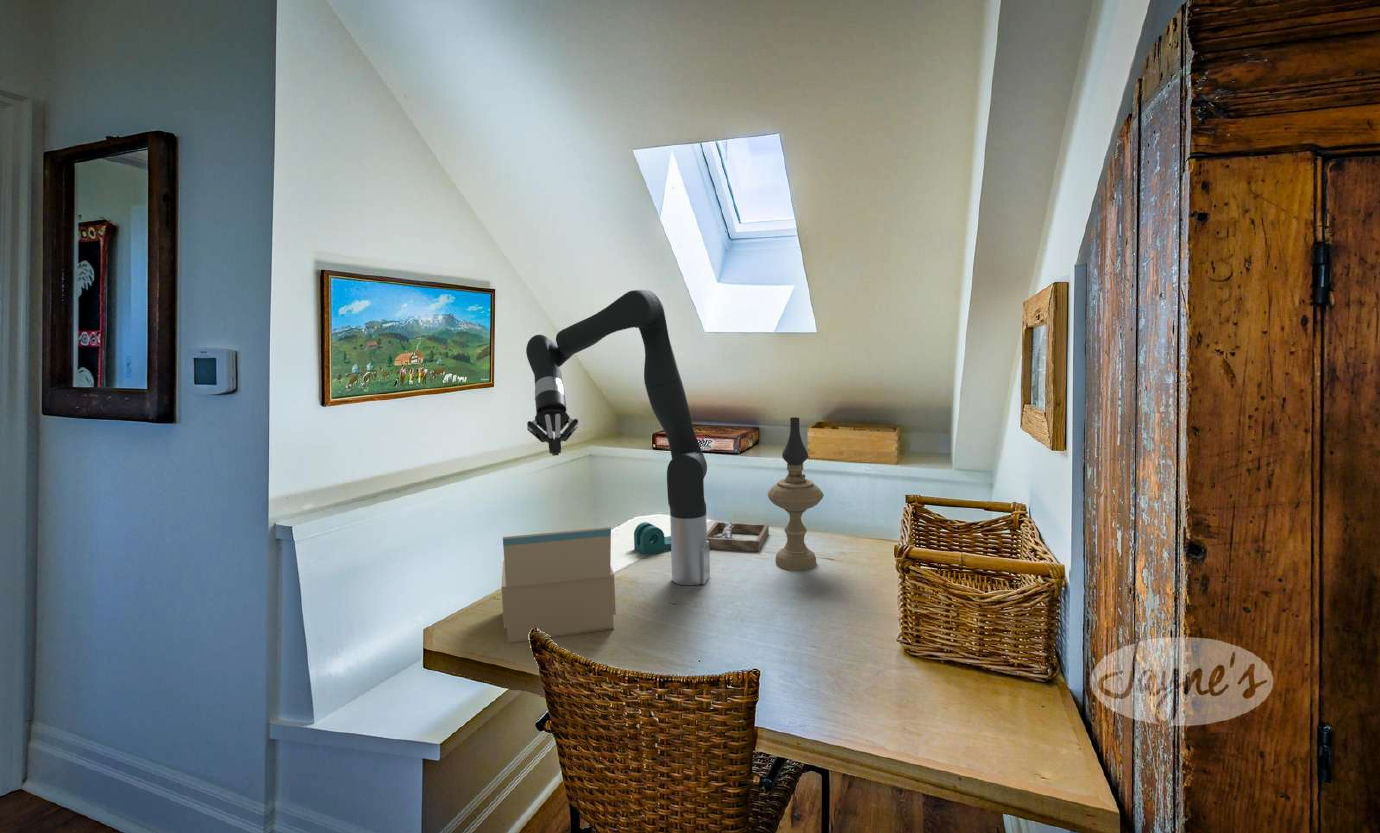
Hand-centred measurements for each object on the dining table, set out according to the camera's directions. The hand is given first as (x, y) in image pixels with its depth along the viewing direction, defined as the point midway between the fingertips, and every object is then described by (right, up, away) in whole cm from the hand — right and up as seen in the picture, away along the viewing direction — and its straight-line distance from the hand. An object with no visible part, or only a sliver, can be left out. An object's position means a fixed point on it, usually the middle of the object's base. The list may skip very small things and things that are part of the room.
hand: (555, 453), depth 160 cm
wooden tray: (+46, -29, +44) cm, 70 cm away
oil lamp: (+61, -31, +22) cm, 72 cm away
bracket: (+25, -31, +39) cm, 56 cm away
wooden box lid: (+5, -20, -24) cm, 31 cm away
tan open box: (+3, -36, -11) cm, 38 cm away
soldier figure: (+43, -29, +46) cm, 69 cm away
